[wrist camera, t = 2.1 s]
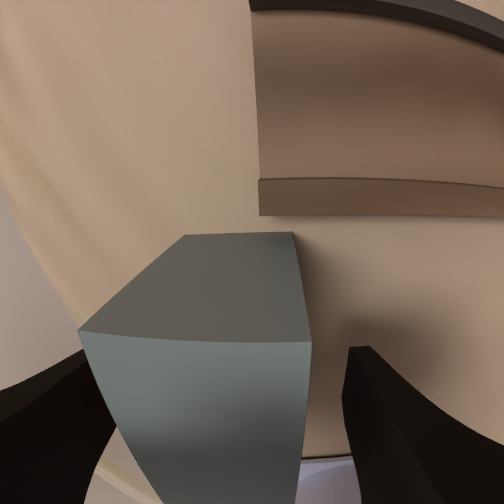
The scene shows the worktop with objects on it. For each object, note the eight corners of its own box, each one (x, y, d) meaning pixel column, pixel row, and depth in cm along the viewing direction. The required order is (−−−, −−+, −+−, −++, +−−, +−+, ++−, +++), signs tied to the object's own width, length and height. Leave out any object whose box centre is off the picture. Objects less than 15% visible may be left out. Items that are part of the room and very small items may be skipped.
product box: (291, 231, 11) (311, 341, 4) (291, 381, 13) (292, 517, 6) (179, 234, 11) (69, 329, 5) (201, 379, 13) (159, 504, 7)
